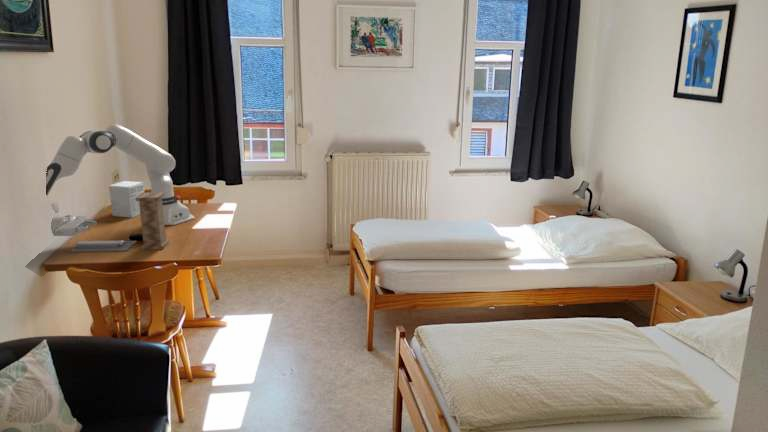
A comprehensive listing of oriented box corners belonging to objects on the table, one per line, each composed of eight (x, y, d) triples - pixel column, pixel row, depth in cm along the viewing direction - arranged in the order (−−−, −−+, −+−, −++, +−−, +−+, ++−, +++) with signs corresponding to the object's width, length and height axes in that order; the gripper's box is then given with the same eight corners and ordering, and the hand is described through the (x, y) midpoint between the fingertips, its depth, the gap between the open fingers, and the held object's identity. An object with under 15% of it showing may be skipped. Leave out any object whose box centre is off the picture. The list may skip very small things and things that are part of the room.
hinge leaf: (76, 247, 287) (75, 243, 286) (79, 244, 291) (79, 240, 290) (122, 246, 288) (121, 242, 288) (125, 244, 292) (124, 239, 291)
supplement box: (147, 211, 351) (143, 181, 346) (132, 217, 338) (128, 187, 334) (127, 210, 354) (123, 180, 349) (111, 216, 342) (108, 185, 337)
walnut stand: (141, 249, 286) (135, 197, 279) (147, 242, 296) (142, 192, 289) (163, 249, 287) (157, 197, 280) (169, 242, 296) (164, 192, 289)
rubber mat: (69, 252, 282) (69, 251, 282) (81, 242, 296) (81, 241, 295) (126, 251, 284) (126, 250, 284) (136, 241, 297) (136, 240, 297)
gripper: (50, 226, 275) (82, 225, 276) (70, 214, 295) (99, 213, 295) (52, 239, 277) (83, 239, 277) (72, 226, 296) (101, 226, 297)
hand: (92, 225), depth 287 cm, fingers open, 8 cm apart
